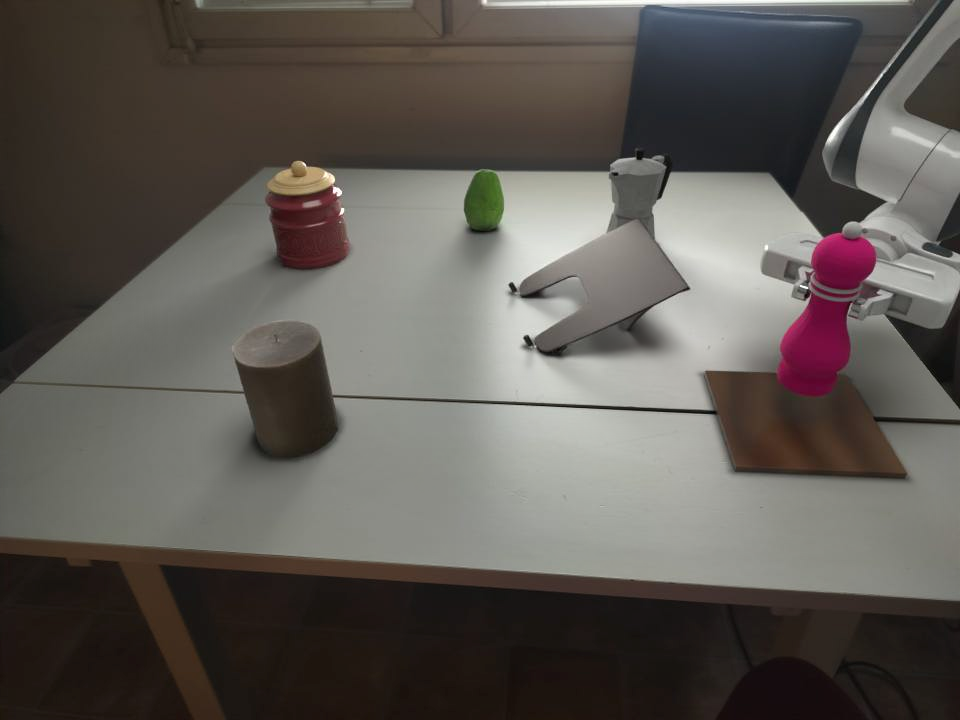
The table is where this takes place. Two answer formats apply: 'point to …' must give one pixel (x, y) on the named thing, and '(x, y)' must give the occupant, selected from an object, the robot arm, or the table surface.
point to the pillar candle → (287, 387)
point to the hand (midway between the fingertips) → (827, 303)
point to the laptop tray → (607, 284)
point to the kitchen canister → (307, 217)
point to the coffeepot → (637, 188)
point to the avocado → (484, 201)
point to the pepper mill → (826, 314)
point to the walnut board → (798, 428)
